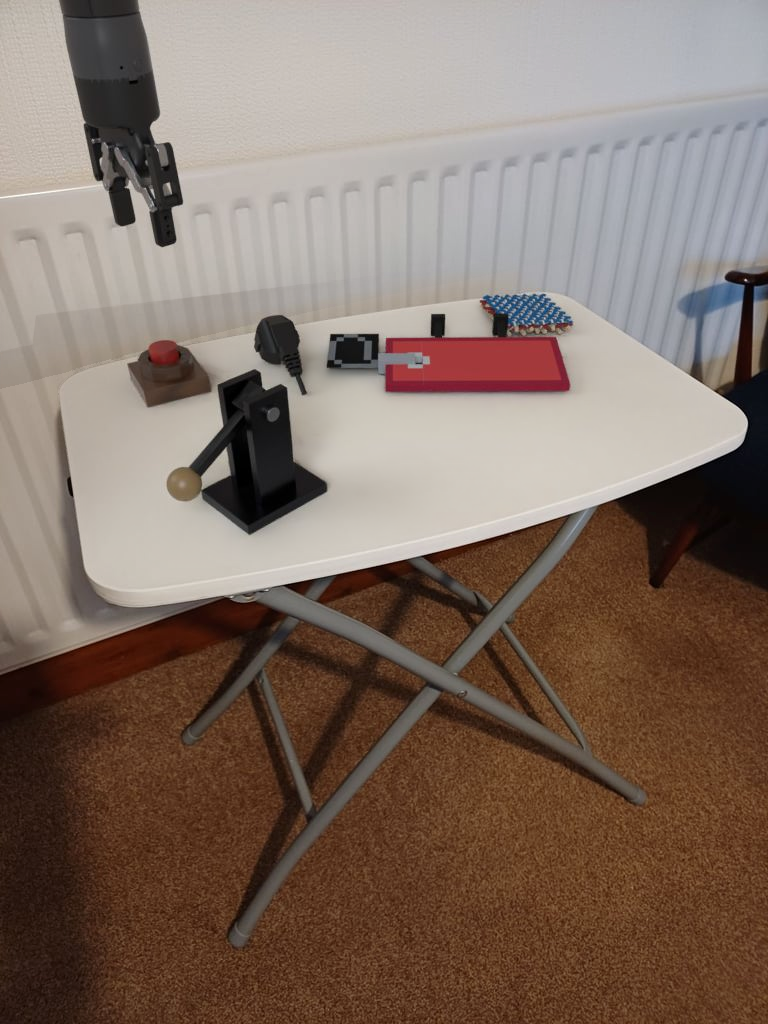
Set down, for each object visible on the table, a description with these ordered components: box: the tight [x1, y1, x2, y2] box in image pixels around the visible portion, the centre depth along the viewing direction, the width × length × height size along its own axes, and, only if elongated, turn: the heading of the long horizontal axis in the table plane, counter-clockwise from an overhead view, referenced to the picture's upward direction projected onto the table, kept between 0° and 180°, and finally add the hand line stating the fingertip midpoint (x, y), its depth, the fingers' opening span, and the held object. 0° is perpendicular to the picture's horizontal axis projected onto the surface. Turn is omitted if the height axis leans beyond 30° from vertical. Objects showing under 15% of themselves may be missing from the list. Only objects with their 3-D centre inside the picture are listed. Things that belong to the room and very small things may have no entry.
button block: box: [126, 344, 212, 408], centre depth 97 cm, size 8×8×4 cm
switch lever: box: [165, 381, 267, 503], centre depth 73 cm, size 13×3×3 cm, turn 135°
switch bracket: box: [200, 368, 328, 536], centre depth 77 cm, size 10×8×13 cm
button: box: [148, 339, 179, 364], centre depth 96 cm, size 3×3×2 cm
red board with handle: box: [326, 313, 571, 393], centre depth 101 cm, size 30×3×15 cm
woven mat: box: [479, 293, 574, 337], centre depth 111 cm, size 10×11×2 cm
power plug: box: [253, 314, 308, 396], centre depth 100 cm, size 6×8×12 cm
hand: (146, 234), depth 86 cm, fingers open, 8 cm apart
